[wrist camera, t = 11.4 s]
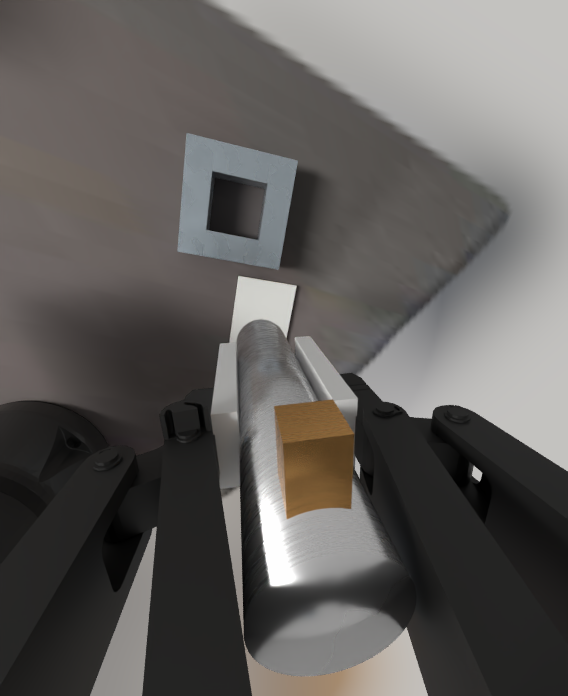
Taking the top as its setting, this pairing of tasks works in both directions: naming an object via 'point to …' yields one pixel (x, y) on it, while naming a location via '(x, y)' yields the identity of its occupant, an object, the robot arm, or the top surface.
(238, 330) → the mat
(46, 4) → the top surface
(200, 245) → the block
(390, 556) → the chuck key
